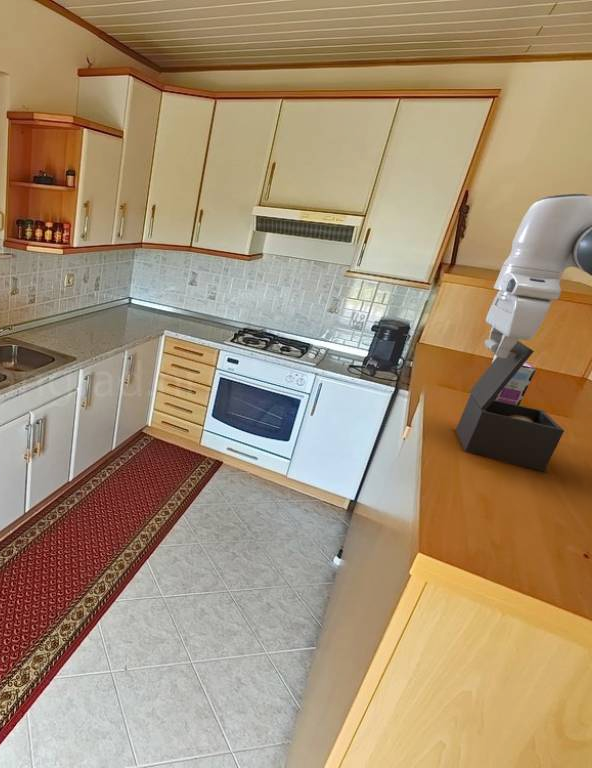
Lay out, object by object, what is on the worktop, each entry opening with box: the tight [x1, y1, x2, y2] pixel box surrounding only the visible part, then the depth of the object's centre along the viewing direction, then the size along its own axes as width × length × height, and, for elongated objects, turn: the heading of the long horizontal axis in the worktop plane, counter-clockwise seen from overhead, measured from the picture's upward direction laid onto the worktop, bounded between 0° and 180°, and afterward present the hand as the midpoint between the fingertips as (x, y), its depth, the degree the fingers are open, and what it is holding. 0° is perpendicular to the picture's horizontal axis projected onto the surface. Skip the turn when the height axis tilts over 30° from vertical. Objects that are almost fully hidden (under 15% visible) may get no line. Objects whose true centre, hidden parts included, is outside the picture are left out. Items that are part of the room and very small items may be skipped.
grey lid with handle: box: [469, 338, 535, 410], centre depth 99 cm, size 13×13×5 cm
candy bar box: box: [490, 354, 537, 405], centre depth 112 cm, size 11×5×16 cm, turn 154°
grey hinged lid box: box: [455, 394, 565, 473], centre depth 100 cm, size 13×13×9 cm
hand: (495, 353), depth 98 cm, fingers closed on grey lid with handle, 6 cm apart
